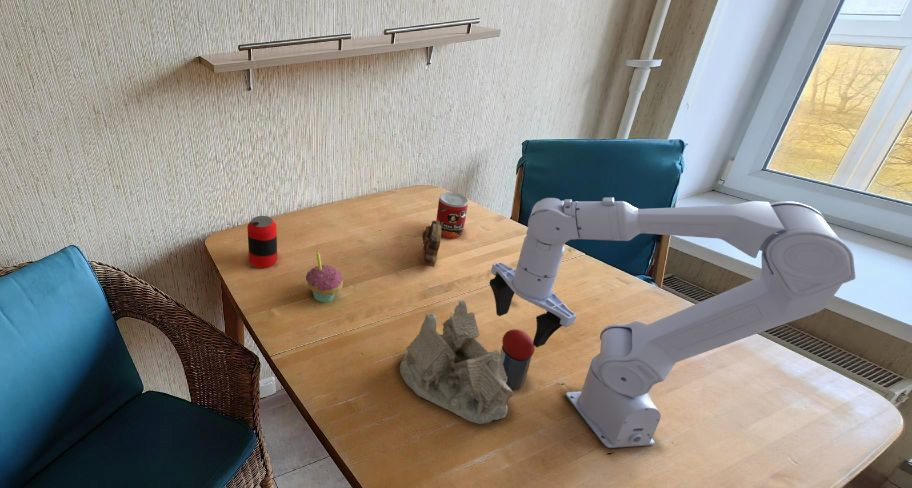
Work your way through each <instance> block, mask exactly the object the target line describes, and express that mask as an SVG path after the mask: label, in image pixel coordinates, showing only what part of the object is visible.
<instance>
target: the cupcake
mask: <svg viewBox="0 0 912 488" xmlns="http://www.w3.org/2000/svg"><path fill="white" fill-rule="evenodd" d="M316 259H317V266H314V267H313V268H311V269H309V271H307V272H306V275H305V281H306V285H307V287H308V289H310V290H311V292H312V294H313V297H314V299H315V300H317V301H318V302H321V303H328V302H329V303H330V302H331V301H333V300H334V298H335V295H336V293H338V292H340V291H341V290H342V288H343V285H344V279H343V275H342V273H341V272H340V271H339V270H338V269H336V268H335V267H332V266H331V265H325V264H322V262H321V261H322V260H321V253H320V252H319V250H316Z"/></svg>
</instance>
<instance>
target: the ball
mask: <svg viewBox="0 0 912 488" xmlns="http://www.w3.org/2000/svg"><path fill="white" fill-rule="evenodd" d="M533 340H534V339H533V338H532V337H531V335H529V334H528V333H527V332H526V331H524V330H521V329H517V328H516V329H515V328H514V329H510V330H508V331H506V332H505V333H504V335H503V337H502V341H501V342H502V345H503V347H504V349H505V351H506V352H507V354H508V355H510V356H511V357H513V358H514V359H517V360H526V359H529V358H530V357H531V358H532V356H533V355H534V353H535V349H536V347H535V346H534V345H533Z"/></svg>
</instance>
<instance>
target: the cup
mask: <svg viewBox="0 0 912 488" xmlns="http://www.w3.org/2000/svg"><path fill="white" fill-rule="evenodd" d="M499 354H500V356H501V360H502V364H503V367H504V370H505V373H506V376H507V377H508V378H507V382H506V384H507V386H508V387H509V388H510V389H514V390H518V389H522V388H524V386H525V383H526V380H527V377H528V371H529V368H530V364H531V360H532V356H531V357H530V358H529V359H526V360H517V359H514V358H513V357H511V356H510V355H508V354H507V352H506V351H505V349H504V347H503V344H502V346H501V349H500V352H499Z"/></svg>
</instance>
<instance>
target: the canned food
mask: <svg viewBox="0 0 912 488" xmlns="http://www.w3.org/2000/svg"><path fill="white" fill-rule="evenodd" d="M437 203H438V204H437V213H436V219H435V221H439V222H440V225H441V237H443V238H446V239H458V238H461V237H462V235H463V233H464V230H465V225H466V224H465V223H466V219H467V212H468V205H469V199H468V198H467V196H465V195H463V194H461V193H457V192H443V193H441V194H440V195H439V198H438V202H437Z"/></svg>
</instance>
